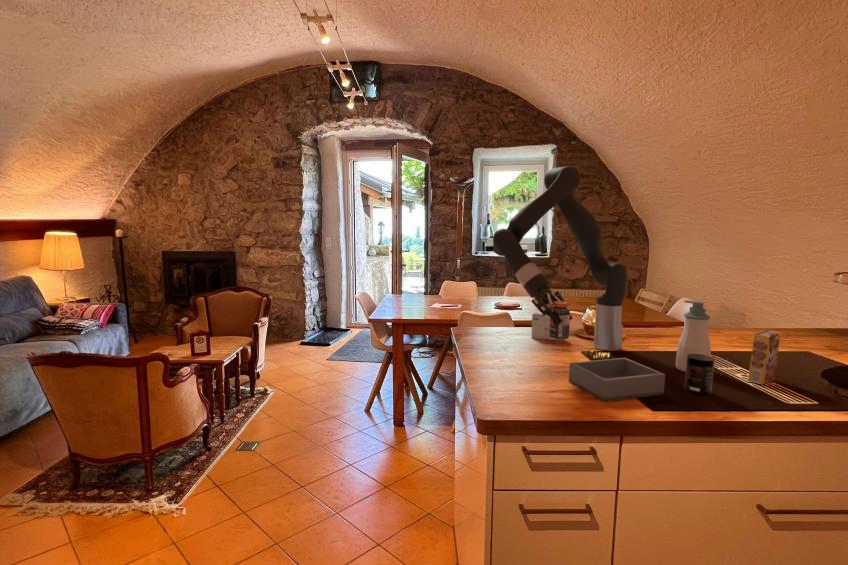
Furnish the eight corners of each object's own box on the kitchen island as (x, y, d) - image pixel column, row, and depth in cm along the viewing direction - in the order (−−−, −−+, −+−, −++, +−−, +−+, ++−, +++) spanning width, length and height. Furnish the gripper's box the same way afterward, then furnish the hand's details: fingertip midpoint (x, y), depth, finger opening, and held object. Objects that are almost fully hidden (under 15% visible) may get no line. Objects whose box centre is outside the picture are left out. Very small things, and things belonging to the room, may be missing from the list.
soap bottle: (680, 363, 154) (685, 298, 151) (713, 370, 147) (719, 302, 144) (671, 370, 147) (676, 302, 144) (705, 377, 140) (711, 306, 137)
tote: (623, 375, 141) (625, 357, 140) (663, 394, 126) (665, 374, 125) (568, 381, 136) (569, 362, 135) (603, 401, 121) (604, 380, 120)
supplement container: (712, 391, 128) (716, 356, 127) (709, 398, 123) (713, 362, 122) (686, 386, 133) (689, 352, 131) (681, 392, 128) (684, 357, 126)
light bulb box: (558, 336, 190) (559, 312, 188) (557, 340, 183) (558, 315, 182) (532, 334, 193) (533, 310, 192) (531, 338, 187) (531, 313, 185)
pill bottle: (546, 335, 142) (547, 300, 140) (564, 334, 142) (566, 300, 141) (553, 340, 136) (554, 303, 135) (572, 339, 137) (573, 303, 135)
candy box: (763, 386, 133) (769, 336, 131) (747, 382, 137) (752, 333, 134) (775, 380, 138) (781, 332, 136) (759, 376, 141) (764, 329, 139)
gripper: (528, 274, 137) (562, 318, 130) (551, 270, 147) (584, 311, 140) (512, 289, 141) (545, 332, 134) (536, 284, 151) (567, 325, 145)
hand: (564, 321), depth 137 cm, fingers closed on pill bottle, 6 cm apart
